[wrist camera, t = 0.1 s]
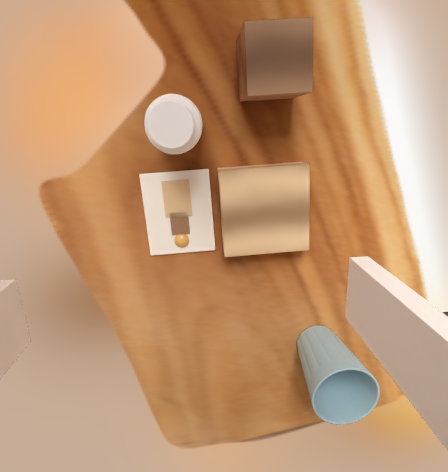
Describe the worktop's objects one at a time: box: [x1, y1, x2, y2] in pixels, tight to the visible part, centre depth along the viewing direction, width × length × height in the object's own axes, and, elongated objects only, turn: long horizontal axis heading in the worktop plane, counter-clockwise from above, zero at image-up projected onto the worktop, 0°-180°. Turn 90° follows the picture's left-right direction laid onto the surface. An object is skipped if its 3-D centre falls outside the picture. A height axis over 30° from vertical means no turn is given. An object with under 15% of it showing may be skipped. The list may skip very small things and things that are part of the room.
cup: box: [297, 325, 380, 425], centre depth 43 cm, size 8×8×10 cm
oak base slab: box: [217, 162, 310, 257], centre depth 40 cm, size 10×10×3 cm
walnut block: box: [236, 17, 313, 102], centre depth 34 cm, size 6×6×7 cm
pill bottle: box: [144, 94, 203, 154], centre depth 33 cm, size 5×5×10 cm
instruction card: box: [139, 169, 215, 256], centre depth 41 cm, size 10×8×1 cm
